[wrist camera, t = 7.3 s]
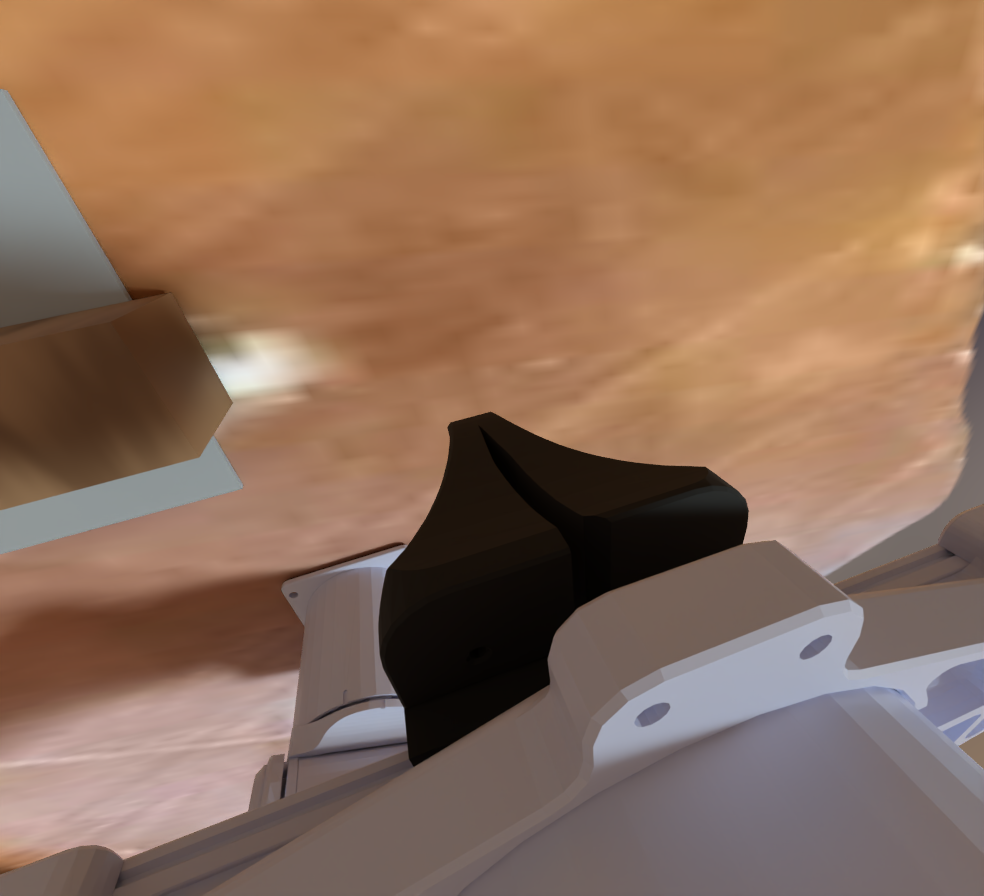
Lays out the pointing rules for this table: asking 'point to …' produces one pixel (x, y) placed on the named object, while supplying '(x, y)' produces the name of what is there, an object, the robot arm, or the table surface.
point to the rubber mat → (62, 290)
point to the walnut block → (102, 398)
